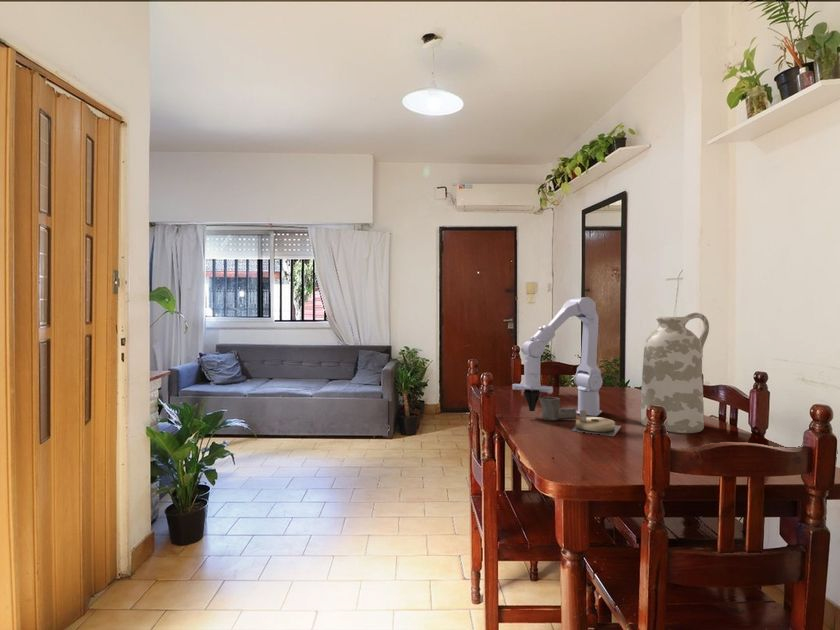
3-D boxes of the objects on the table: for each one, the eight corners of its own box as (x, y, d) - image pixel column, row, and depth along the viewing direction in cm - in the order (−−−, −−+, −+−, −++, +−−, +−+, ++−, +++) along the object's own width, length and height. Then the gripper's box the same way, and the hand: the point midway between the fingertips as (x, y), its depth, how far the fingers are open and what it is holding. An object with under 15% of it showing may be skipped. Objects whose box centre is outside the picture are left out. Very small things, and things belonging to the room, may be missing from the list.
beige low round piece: (568, 425, 156) (568, 409, 156) (590, 420, 163) (590, 405, 162) (600, 433, 146) (600, 415, 146) (622, 427, 153) (622, 411, 153)
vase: (644, 431, 151) (644, 312, 151) (637, 418, 169) (637, 312, 168) (716, 436, 145) (717, 312, 144) (701, 422, 162) (702, 312, 162)
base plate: (581, 422, 163) (581, 421, 163) (621, 426, 156) (621, 426, 156) (571, 430, 151) (571, 430, 151) (614, 436, 145) (614, 435, 145)
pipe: (577, 422, 164) (577, 399, 164) (540, 421, 164) (540, 399, 164) (573, 418, 170) (573, 396, 170) (537, 417, 170) (537, 396, 170)
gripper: (509, 373, 171) (509, 410, 171) (548, 376, 164) (548, 415, 164) (516, 371, 177) (516, 407, 177) (554, 374, 170) (554, 411, 170)
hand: (532, 410), depth 171 cm, fingers closed
